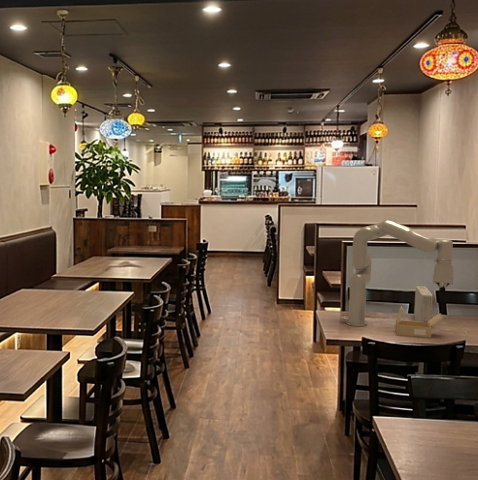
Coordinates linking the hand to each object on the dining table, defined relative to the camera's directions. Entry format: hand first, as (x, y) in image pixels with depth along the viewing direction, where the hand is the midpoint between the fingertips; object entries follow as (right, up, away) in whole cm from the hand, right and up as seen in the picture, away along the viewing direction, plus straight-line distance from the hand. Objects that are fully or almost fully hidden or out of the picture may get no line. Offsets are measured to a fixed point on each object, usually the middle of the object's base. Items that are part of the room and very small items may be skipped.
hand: (441, 294), depth 297 cm
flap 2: (-6, -17, +3) cm, 18 cm away
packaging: (0, -21, +33) cm, 39 cm away
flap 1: (-23, -16, +6) cm, 29 cm away
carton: (-15, -23, +5) cm, 28 cm away
